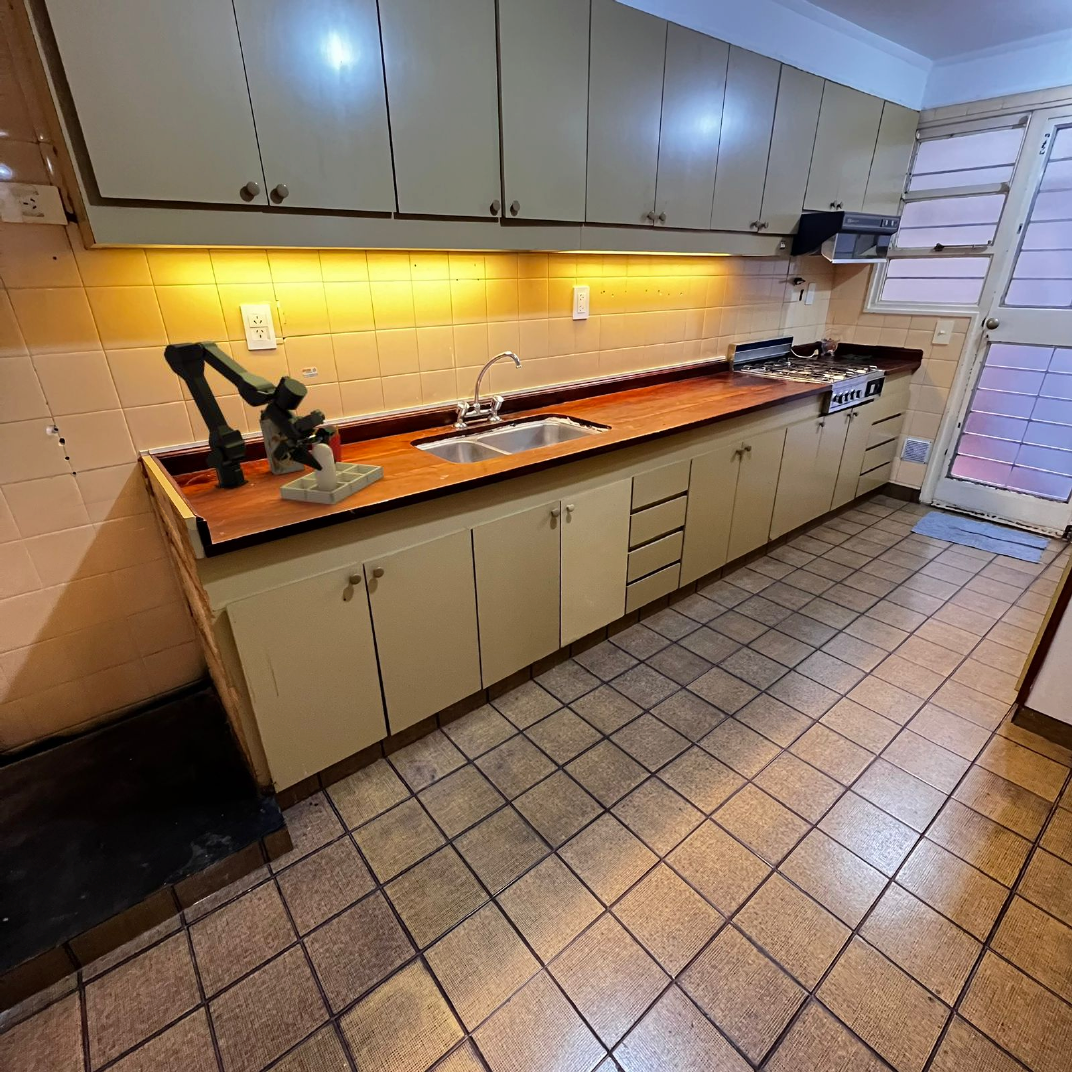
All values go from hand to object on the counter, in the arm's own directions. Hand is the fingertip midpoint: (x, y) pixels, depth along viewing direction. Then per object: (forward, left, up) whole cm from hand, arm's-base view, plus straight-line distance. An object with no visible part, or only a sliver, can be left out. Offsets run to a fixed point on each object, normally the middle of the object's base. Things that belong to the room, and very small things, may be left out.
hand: (328, 466), depth 148 cm
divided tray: (-5, +8, -9) cm, 13 cm away
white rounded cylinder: (-1, 0, -7) cm, 7 cm away
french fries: (-19, +24, -9) cm, 32 cm away
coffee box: (-29, +17, -9) cm, 35 cm away
